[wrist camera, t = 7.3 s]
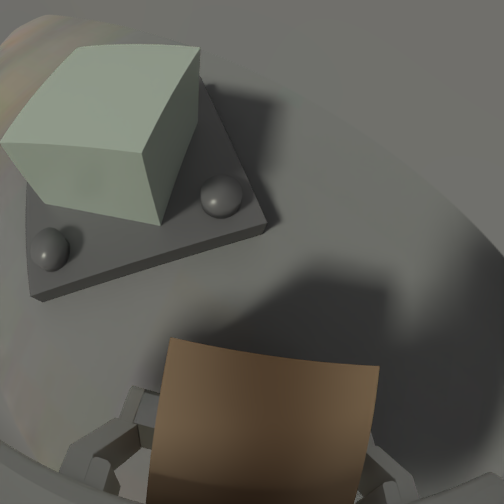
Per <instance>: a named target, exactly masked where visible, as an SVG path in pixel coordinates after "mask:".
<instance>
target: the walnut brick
mask: <svg viewBox="0 0 504 504" xmlns="http://www.w3.org/2000/svg"><path fill="white" fill-rule="evenodd" d="M379 368H380V366H368V365H352V364H339V363H328V362H318V361H308V360H299V359H291V358H283V357H276V356H269V355H262V354H255V353H249V352H243V351H237V350H231V349H226V348H220V347H215V346H210V345H205V344H200V343H195V342H190V341H185V340H181V339H176V338H172V337H170V341H169V347H168V352H167V357H166V362H165V368H164V373H163V379H162V385H161V391H160V397H159V403H158V409H157V416H156V422H155V429H154V436H153V444H152V452H151V460H150V468H149V477H148V487H147V497H146V504H354V500H355V497H356V493H357V489H358V486H359V482H360V478H361V474H362V470H363V465H364V461H365V456H366V452H367V447H368V442H369V437H370V431H371V426H372V420H373V414H374V407H375V401H376V393H377V385H378V377H379Z"/></svg>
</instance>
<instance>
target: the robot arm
mask: <svg viewBox="0 0 504 504" xmlns="http://www.w3.org/2000/svg"><path fill="white" fill-rule="evenodd" d="M159 397H160V393H157V392H154V391H150V390H146V389H143V388H139V387H136V386H132V387H131V388H130V390H129V393H128V396H127V398H126V401H125V403H124V406H123V408H122V411H121V414H120V416H119V419H118V418H114V419H112V420H110V421H109V422H107V423H106V424H104V425H102V426H101V427H99V428H98V429H96V430H94V431H93V432H91V433H89V434H88V435H86V436H84V437H83V438H81V439H79V440H78V441H76V442H74V443H73V444H71V445H70V447H69V449H68V451H67V454H66V456H65V458H64V461H63V463H62V465H61V468H60V470H59V473H58V472H56V471H54V470H52V469H50V468H48V467H46V466H44V465H42V464H40V463H39V462H37V461H35V460H33V459H31V458H29V457H28V456H26V455H24V454H22V453H21V452H19V451H17V450H16V449H14V448H12V447H11V446H9V445H8V444H6V443H4V442H3V441H1V440H0V504H143V503H140V502H136V501H132V500H129V499H126V498H122V497H119V496H118V494H119V490H120V484H119V482H118V480H117V478H116V475H115V473H114V470H115V469H117V468H118V467H119V466H120V465H121V464H123V463H124V462H125V461H126V460H128V459H129V458H130V457H131V456H132V455H133V454H135V453H136V452H137V451H138V450H139V449H141V447H143V448H147V449H151V450H152V444H153V436H154V429H155V422H156V416H157V409H158V403H159ZM358 491H359V492H360V493H361V494H362V495H363V498H362V499H360V500H359V501H357V502H356V503H355V504H504V480H503V479H502V478H501V477H499V476H498V475H496V474H494V473H493V472H488V473H485V474H483V475H481V476H479V477H477V478H475V479H472V480H470V481H468V482H465V483H463V484H461V485H458V486H456V487H453V488H451V489H448V490H445V491H443V492H440V493H437V494H434V495H431V496H428V497H425V498H422V499H420V498H419V495H418V492H417V488H416V485H415V482H414V479H413V476H412V475H411V474H410V473H409V472H407V471H406V470H405V469H404V468H403V467H402V466H401V465H399V464H398V463H397V462H396V461H395V460H394V459H393V458H391V457H390V456H389V455H388V454H387V453H386V452H385V451H384V450H382V449H381V448H380V447H379V446H375V443H374V440H373V436H372V433H371V431H370V437H369V442H368V447H367V452H366V456H365V461H364V465H363V470H362V474H361V478H360V482H359V486H358Z"/></svg>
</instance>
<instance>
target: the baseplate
mask: <svg viewBox="0 0 504 504" xmlns="http://www.w3.org/2000/svg"><path fill="white" fill-rule="evenodd" d="M200 49H201V48H200V47H190V46H177V45H157V44H118V45H98V46H85V47H78V48H77V49H76V50H75V51H73V52H72V53H71V54H70V55H69V56H68V57H67V58H66V59H65V60H64V62H63V63H62V64H61V65H60V66H59V67H58V68H57V69H56V70H55V71H54V72H53V73H52V74H51V75H50V77H49V78H48V79H47V80H46V81H45V82H44V83H43V85H42V86H41V87H40V88H39V89H38V90H37V92H36V93H35V94H34V95H33V97H32V98H31V99H30V100H29V102H28V103H27V104H26V105H25V107H24V108H23V109H22V111H21V112H20V113H19V115H18V116H17V117H16V119H15V120H14V122H13V123H12V124H11V126H10V127H9V129H8V130H7V132H6V133H5V135H4V136H3V138H2V139H1V141H0V144H1V146H2V147H3V149H4V150H5V152H6V153H7V154H8V156H9V157H10V159H11V160H12V162H13V163H14V164H15V166H16V167H17V168H18V170H19V171H20V173H21V174H22V175H23V177H24V178H25V179H26V181H27V190H26V255H27V270H28V281H29V290H30V296H31V297H33V298H35V299H37V300H39V301H41V302H45V301H48V300H51V299H54V298H57V297H60V296H63V295H66V294H69V293H72V292H75V291H78V290H82V289H85V288H88V287H91V286H94V285H97V284H100V283H104V282H107V281H110V280H113V279H116V278H119V277H123V276H126V275H129V274H132V273H135V272H139V271H142V270H145V269H148V268H151V267H155V266H158V265H161V264H164V263H168V262H171V261H174V260H177V259H181V258H184V257H187V256H191V255H194V254H197V253H201V252H204V251H207V250H210V249H214V248H217V247H220V246H224V245H227V244H230V243H234V242H237V241H241V240H244V239H247V238H251V237H254V236H257V235H261V234H263V231H264V229H265V227H266V224H267V221H266V219H265V217H264V214H263V212H262V210H261V207H260V205H259V203H258V201H257V198H256V196H255V194H254V192H253V189H252V187H251V185H250V183H249V180H248V178H247V176H246V174H245V172H244V169H243V167H242V165H241V163H240V161H239V158H238V156H237V154H236V152H235V150H234V147H233V145H232V143H231V141H230V139H229V137H228V134H227V132H226V130H225V128H224V126H223V124H222V121H221V119H220V117H219V115H218V113H217V111H216V109H215V107H214V104H213V102H212V100H211V98H210V96H209V94H208V92H207V90H206V88H205V85H204V83H203V81H202V79H201V77H200V75H199V69H200Z"/></svg>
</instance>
